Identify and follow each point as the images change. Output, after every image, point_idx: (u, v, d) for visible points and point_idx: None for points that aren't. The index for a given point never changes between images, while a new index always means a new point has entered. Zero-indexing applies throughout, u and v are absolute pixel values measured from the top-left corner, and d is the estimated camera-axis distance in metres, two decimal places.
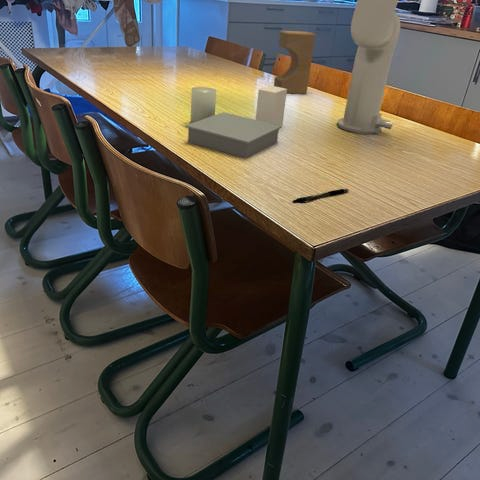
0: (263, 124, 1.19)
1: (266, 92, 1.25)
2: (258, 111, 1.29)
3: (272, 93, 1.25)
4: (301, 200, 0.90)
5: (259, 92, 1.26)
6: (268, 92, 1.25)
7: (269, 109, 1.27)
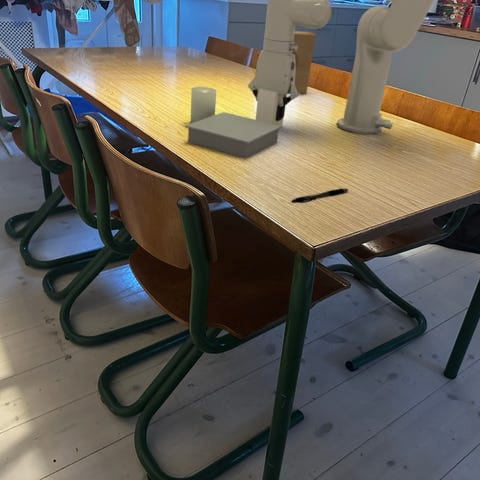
0: (263, 124, 1.19)
1: (266, 92, 1.25)
2: (258, 111, 1.29)
3: (272, 93, 1.25)
4: (300, 199, 0.90)
5: (259, 92, 1.26)
6: (268, 92, 1.25)
7: (269, 109, 1.27)
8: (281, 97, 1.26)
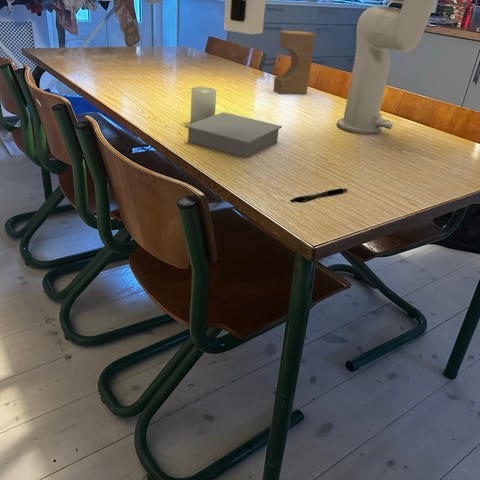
0: (263, 124, 1.19)
1: None
2: (254, 12, 1.01)
3: None
4: (299, 199, 0.90)
5: None
6: None
7: (262, 6, 1.03)
8: None
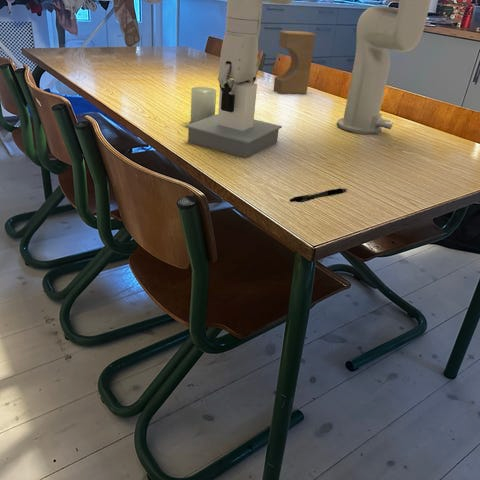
0: (263, 124, 1.19)
1: (251, 87, 1.10)
2: (245, 112, 1.11)
3: (255, 86, 1.11)
4: (298, 199, 0.90)
5: (247, 90, 1.08)
6: (252, 86, 1.10)
7: (252, 105, 1.13)
8: (252, 79, 1.14)
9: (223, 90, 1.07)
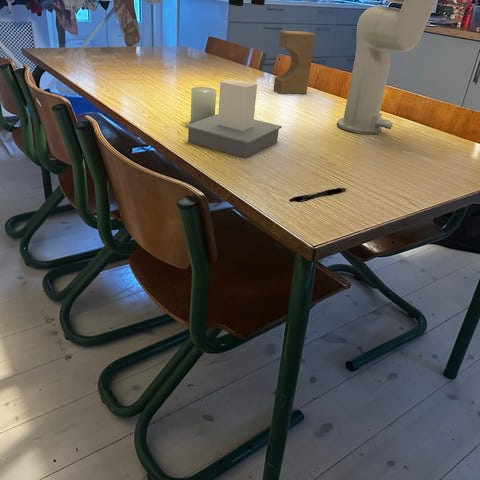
0: (263, 124, 1.19)
1: (251, 87, 1.10)
2: (245, 112, 1.11)
3: (255, 86, 1.11)
4: (298, 199, 0.90)
5: (247, 90, 1.08)
6: (252, 86, 1.10)
7: (252, 105, 1.13)
8: None
9: None
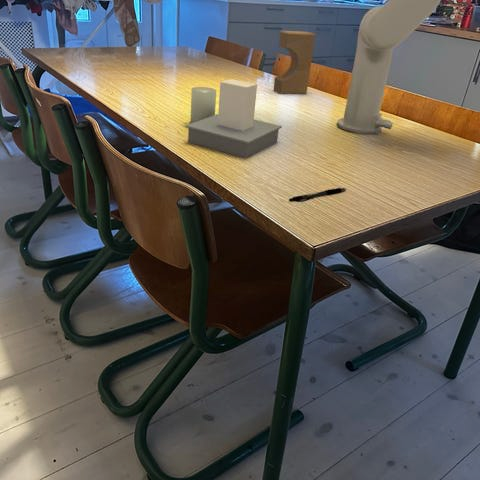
0: (263, 124, 1.19)
1: (251, 87, 1.10)
2: (245, 112, 1.11)
3: (255, 86, 1.11)
4: (297, 198, 0.90)
5: (247, 90, 1.08)
6: (252, 86, 1.10)
7: (252, 105, 1.13)
8: None
9: None
